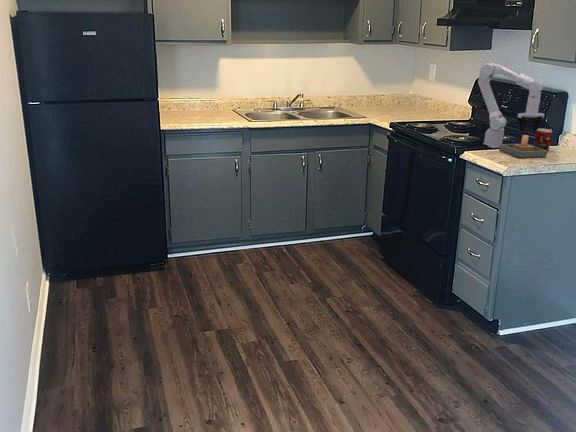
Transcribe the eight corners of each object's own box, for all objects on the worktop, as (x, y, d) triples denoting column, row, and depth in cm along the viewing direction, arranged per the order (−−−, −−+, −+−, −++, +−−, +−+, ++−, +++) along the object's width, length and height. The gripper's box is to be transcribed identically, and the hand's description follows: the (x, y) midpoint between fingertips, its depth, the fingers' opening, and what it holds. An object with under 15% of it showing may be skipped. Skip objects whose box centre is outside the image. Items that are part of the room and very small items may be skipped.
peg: (518, 152, 300) (521, 135, 297) (523, 152, 301) (526, 134, 297) (522, 153, 297) (525, 136, 294) (526, 153, 298) (530, 136, 295)
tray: (499, 150, 304) (500, 142, 303) (525, 150, 309) (526, 141, 307) (518, 158, 290) (520, 149, 288) (546, 157, 294) (547, 148, 293)
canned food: (531, 150, 308) (535, 130, 304) (534, 148, 314) (538, 127, 310) (546, 153, 304) (550, 132, 300) (549, 150, 310) (553, 129, 306)
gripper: (526, 106, 292) (521, 133, 297) (550, 106, 296) (545, 132, 301) (517, 104, 299) (512, 130, 303) (540, 103, 303) (536, 129, 307)
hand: (528, 131), depth 303 cm, fingers open, 7 cm apart
